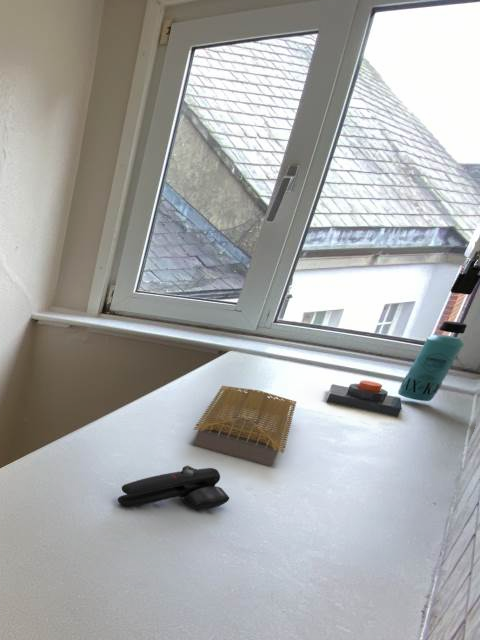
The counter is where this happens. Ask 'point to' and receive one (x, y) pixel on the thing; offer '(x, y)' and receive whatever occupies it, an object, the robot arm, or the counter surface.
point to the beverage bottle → (432, 363)
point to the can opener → (177, 489)
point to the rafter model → (246, 424)
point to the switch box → (365, 399)
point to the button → (369, 386)
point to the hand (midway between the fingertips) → (460, 293)
